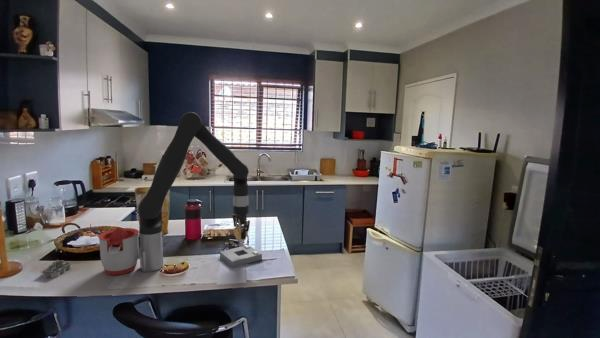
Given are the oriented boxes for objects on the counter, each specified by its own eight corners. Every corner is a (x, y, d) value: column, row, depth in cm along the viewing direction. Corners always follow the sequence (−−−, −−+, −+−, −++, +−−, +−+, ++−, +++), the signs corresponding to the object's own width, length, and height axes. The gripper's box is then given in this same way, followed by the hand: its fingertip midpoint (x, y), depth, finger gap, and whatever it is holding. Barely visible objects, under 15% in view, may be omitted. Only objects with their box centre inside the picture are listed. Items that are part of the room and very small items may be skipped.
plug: (238, 242, 155) (238, 229, 154) (234, 240, 159) (234, 226, 158) (247, 240, 158) (247, 227, 157) (243, 237, 162) (243, 224, 161)
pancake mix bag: (138, 232, 192) (136, 186, 188) (171, 230, 197) (170, 186, 193) (135, 236, 186) (132, 188, 182) (169, 234, 190) (168, 188, 186)
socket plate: (232, 267, 149) (232, 260, 149) (219, 257, 160) (219, 250, 160) (261, 259, 159) (261, 252, 159) (248, 250, 170) (248, 243, 169)
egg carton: (58, 267, 145) (58, 258, 145) (74, 267, 145) (74, 259, 144) (38, 278, 135) (37, 269, 134) (55, 279, 134) (54, 269, 134)
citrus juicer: (94, 281, 133) (91, 235, 130) (106, 263, 149) (104, 222, 146) (135, 277, 137) (133, 233, 134) (143, 260, 154) (141, 220, 151)
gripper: (227, 201, 159) (227, 234, 161) (240, 208, 148) (241, 243, 150) (240, 199, 163) (241, 231, 166) (255, 206, 152) (254, 240, 155)
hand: (241, 237), depth 158 cm, fingers closed on plug, 4 cm apart
